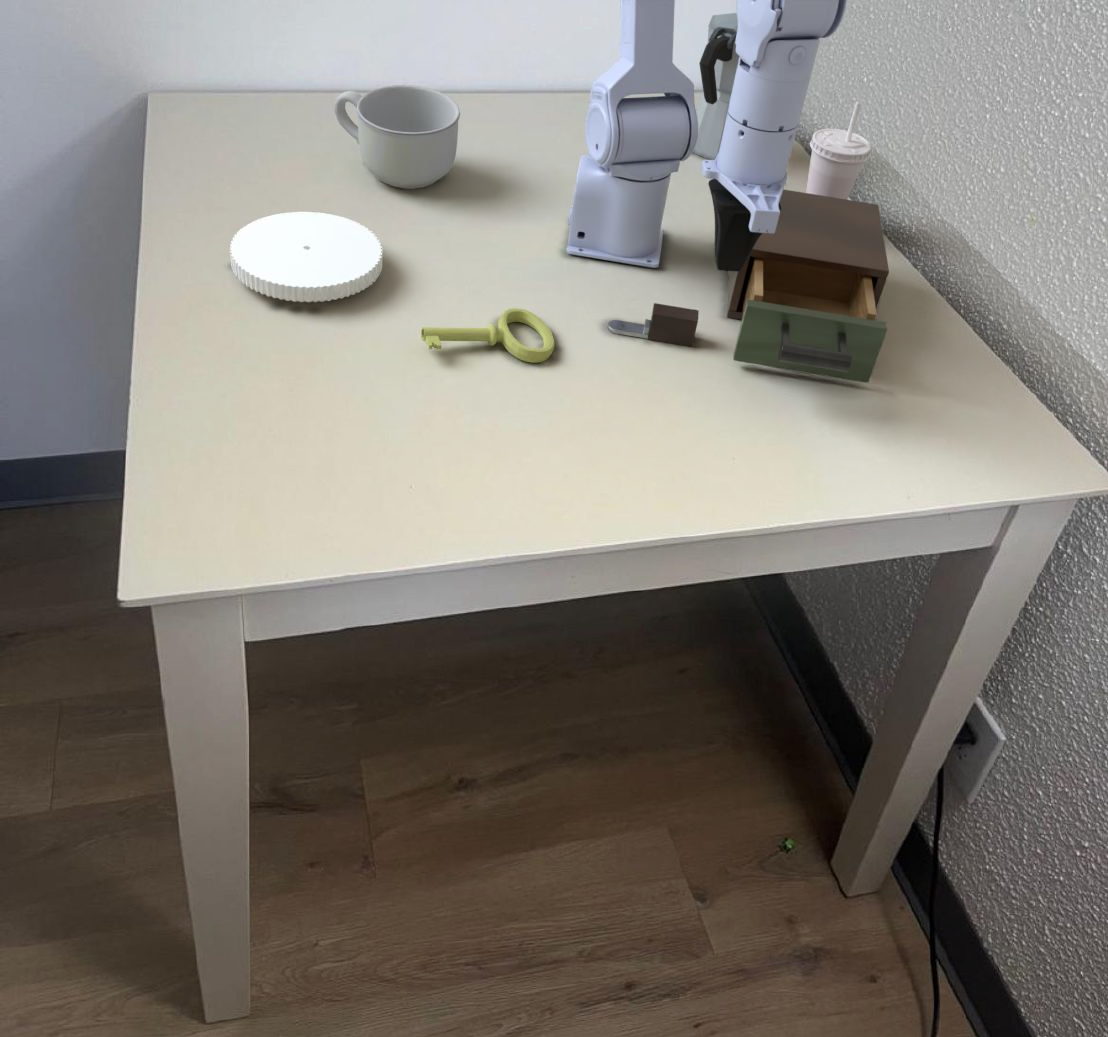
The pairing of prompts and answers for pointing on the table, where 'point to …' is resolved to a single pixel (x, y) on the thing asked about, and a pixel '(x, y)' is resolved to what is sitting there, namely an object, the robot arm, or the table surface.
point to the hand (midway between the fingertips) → (727, 266)
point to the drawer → (809, 320)
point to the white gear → (306, 256)
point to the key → (497, 335)
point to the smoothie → (836, 160)
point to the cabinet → (820, 241)
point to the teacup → (403, 133)
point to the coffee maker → (716, 83)
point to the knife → (662, 325)
